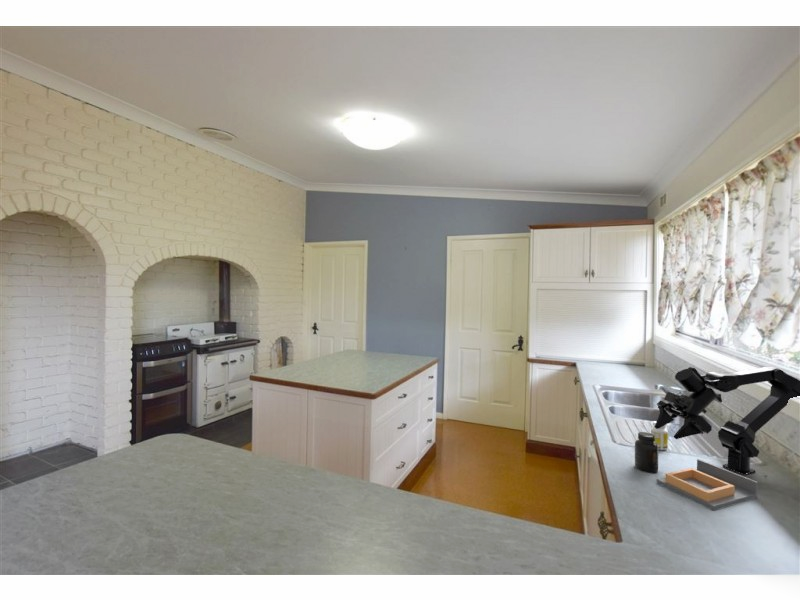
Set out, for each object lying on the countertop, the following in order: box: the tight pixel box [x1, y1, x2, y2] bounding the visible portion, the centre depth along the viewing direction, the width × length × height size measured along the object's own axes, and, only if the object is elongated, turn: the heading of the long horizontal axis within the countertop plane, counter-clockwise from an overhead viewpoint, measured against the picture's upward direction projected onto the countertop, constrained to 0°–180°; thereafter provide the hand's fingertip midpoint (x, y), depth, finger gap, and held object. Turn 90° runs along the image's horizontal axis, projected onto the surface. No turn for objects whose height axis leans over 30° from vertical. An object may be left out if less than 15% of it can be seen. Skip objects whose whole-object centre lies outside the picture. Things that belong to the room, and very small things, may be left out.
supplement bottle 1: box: [634, 431, 659, 474], centre depth 129 cm, size 7×7×12 cm
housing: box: [656, 458, 759, 511], centre depth 115 cm, size 20×16×5 cm
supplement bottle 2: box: [650, 420, 669, 451], centre depth 147 cm, size 5×5×10 cm
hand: (664, 432), depth 129 cm, fingers open, 9 cm apart
